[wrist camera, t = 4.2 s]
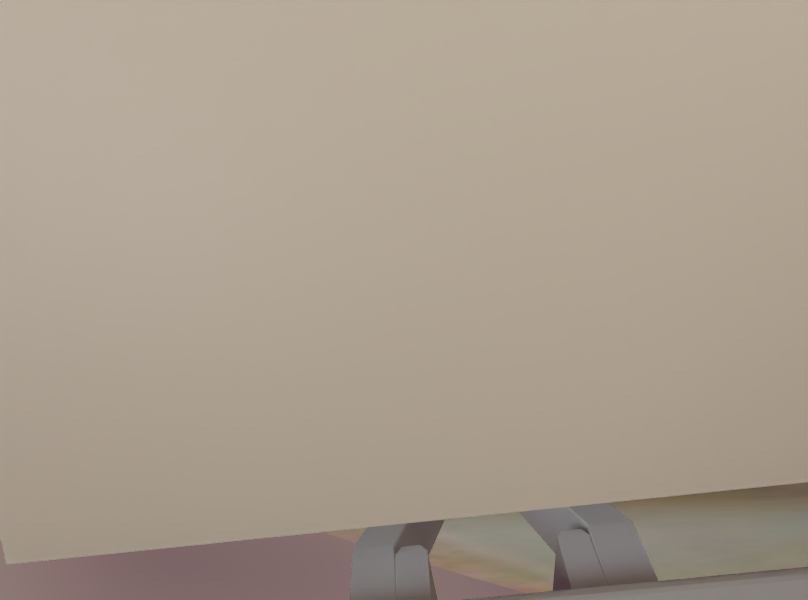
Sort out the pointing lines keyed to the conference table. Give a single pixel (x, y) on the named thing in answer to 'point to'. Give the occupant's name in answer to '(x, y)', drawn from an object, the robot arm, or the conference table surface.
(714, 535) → the conference table surface
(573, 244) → the carton flap
